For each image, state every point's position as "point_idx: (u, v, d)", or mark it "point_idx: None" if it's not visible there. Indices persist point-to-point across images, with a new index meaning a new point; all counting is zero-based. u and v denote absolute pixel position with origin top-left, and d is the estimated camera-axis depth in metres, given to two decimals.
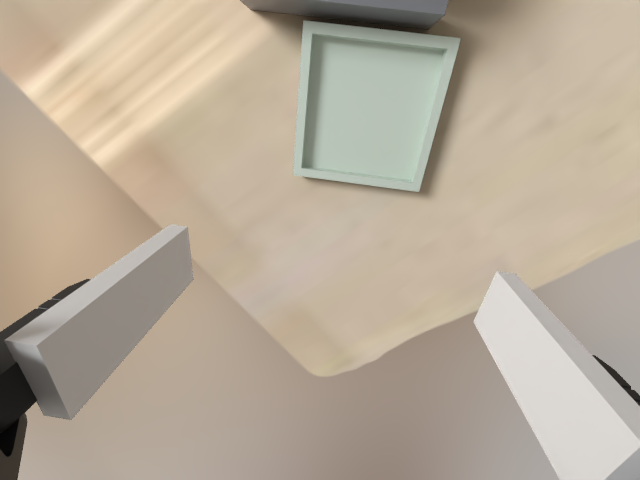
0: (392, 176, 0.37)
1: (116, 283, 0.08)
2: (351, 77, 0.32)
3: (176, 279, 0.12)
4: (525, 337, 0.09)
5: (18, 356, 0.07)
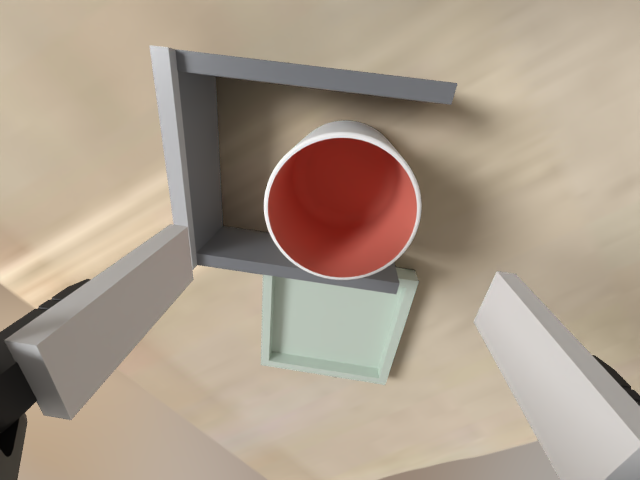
0: (359, 364, 0.37)
1: (116, 283, 0.08)
2: (314, 292, 0.33)
3: (176, 279, 0.12)
4: (525, 337, 0.09)
5: (18, 356, 0.07)
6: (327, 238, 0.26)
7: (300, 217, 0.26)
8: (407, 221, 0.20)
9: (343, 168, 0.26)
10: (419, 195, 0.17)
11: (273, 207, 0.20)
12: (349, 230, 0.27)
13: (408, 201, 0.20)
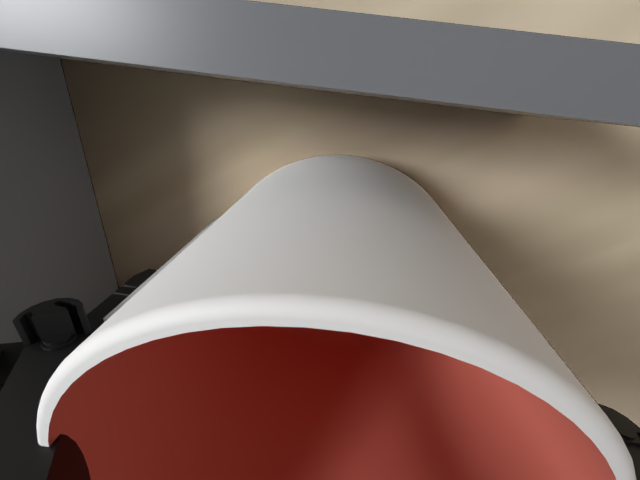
0: None
1: None
2: None
3: None
4: None
5: None
6: (301, 392, 0.12)
7: (246, 348, 0.13)
8: (515, 471, 0.07)
9: None
10: None
11: (124, 424, 0.07)
12: (347, 356, 0.14)
13: (512, 400, 0.07)
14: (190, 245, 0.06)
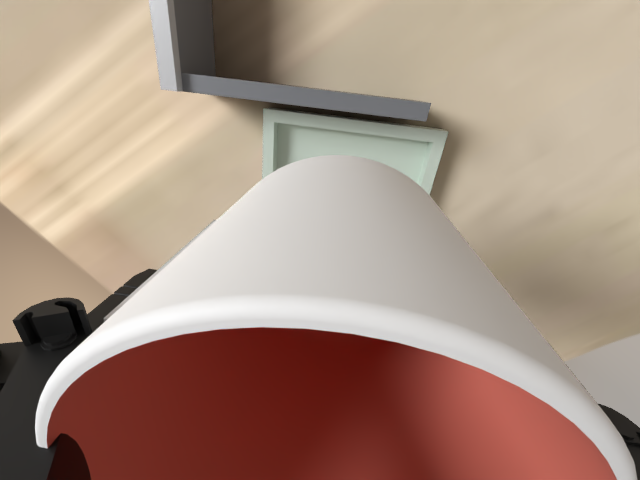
0: None
1: None
2: None
3: None
4: None
5: None
6: (301, 392, 0.12)
7: (246, 348, 0.12)
8: (516, 472, 0.07)
9: None
10: None
11: (124, 425, 0.07)
12: (347, 357, 0.14)
13: (512, 401, 0.07)
14: (190, 245, 0.06)
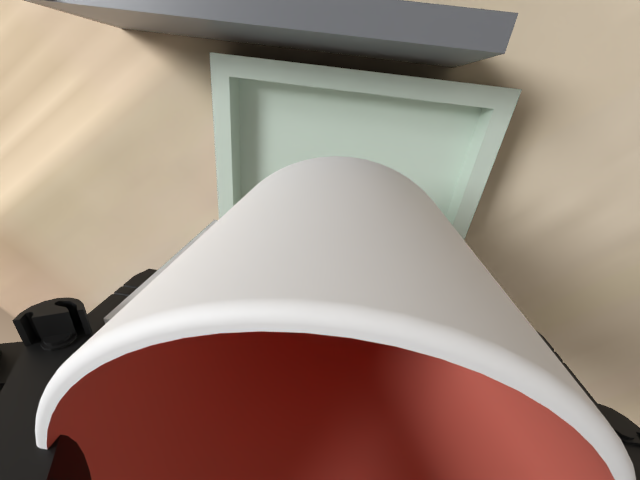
0: None
1: None
2: (312, 149, 0.18)
3: None
4: None
5: None
6: (301, 393, 0.12)
7: (246, 349, 0.13)
8: (515, 474, 0.07)
9: None
10: None
11: (123, 427, 0.07)
12: (347, 358, 0.14)
13: (512, 402, 0.07)
14: (189, 247, 0.06)
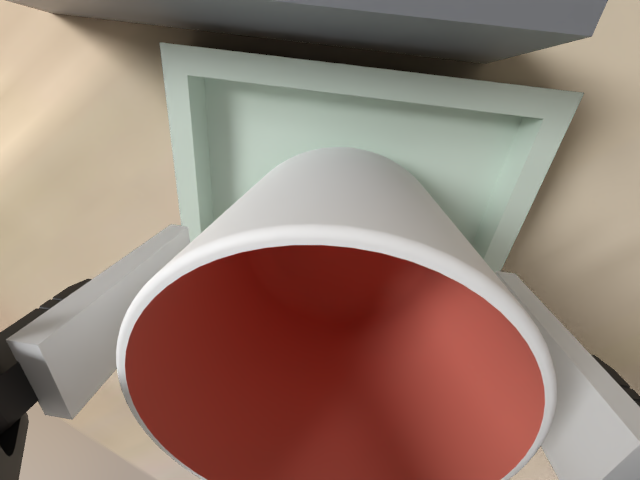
0: None
1: (117, 283, 0.08)
2: None
3: None
4: None
5: (19, 356, 0.07)
6: (307, 357, 0.14)
7: (258, 319, 0.14)
8: (484, 397, 0.08)
9: None
10: (554, 397, 0.06)
11: (167, 361, 0.08)
12: (348, 330, 0.16)
13: (482, 343, 0.09)
14: (224, 213, 0.08)
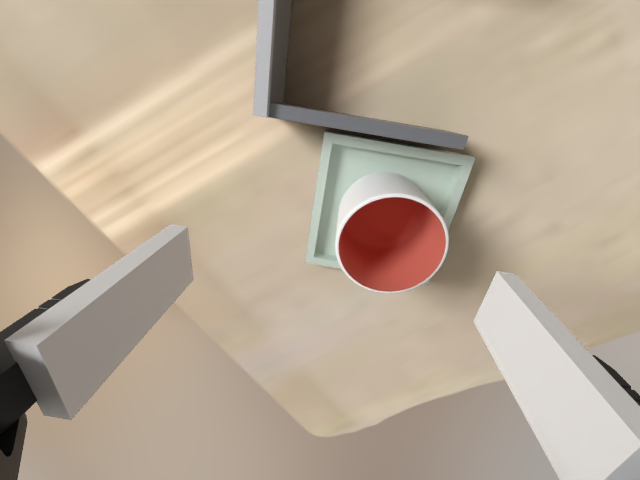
0: None
1: (116, 283, 0.08)
2: None
3: (176, 279, 0.12)
4: (525, 337, 0.09)
5: (18, 356, 0.07)
6: (367, 259, 0.33)
7: (347, 242, 0.33)
8: (435, 252, 0.27)
9: (380, 205, 0.34)
10: (448, 236, 0.25)
11: None
12: (383, 253, 0.35)
13: (436, 237, 0.28)
14: (362, 192, 0.27)
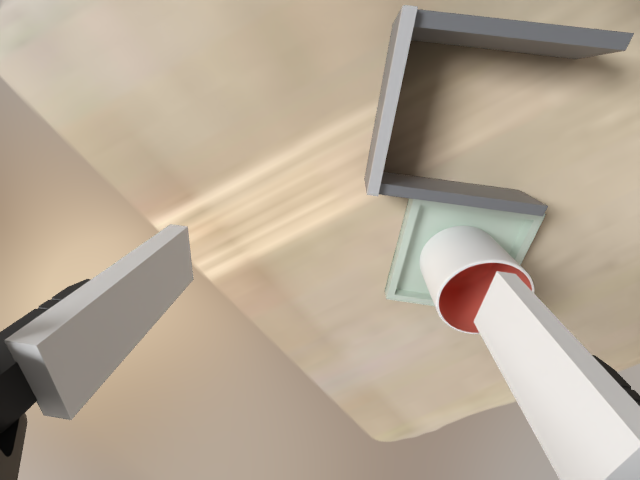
0: None
1: (116, 283, 0.08)
2: None
3: (176, 279, 0.12)
4: (525, 337, 0.09)
5: (18, 356, 0.07)
6: (448, 299, 0.38)
7: None
8: None
9: None
10: None
11: None
12: (457, 291, 0.40)
13: None
14: (456, 253, 0.32)
